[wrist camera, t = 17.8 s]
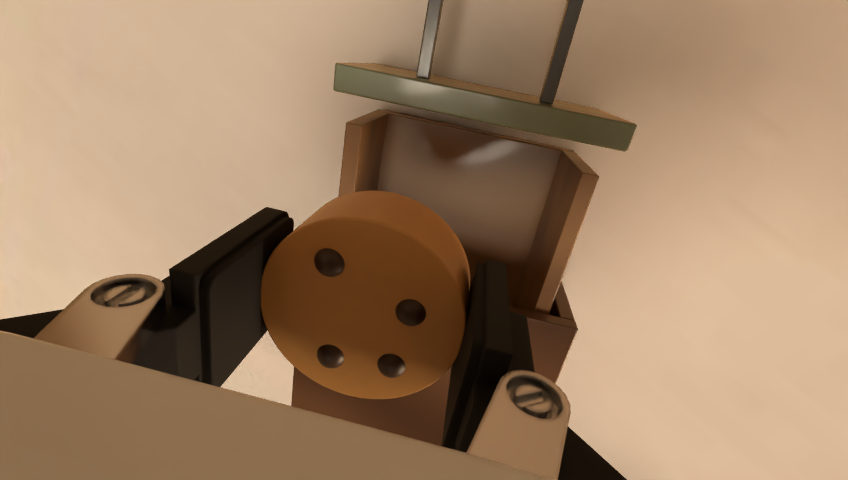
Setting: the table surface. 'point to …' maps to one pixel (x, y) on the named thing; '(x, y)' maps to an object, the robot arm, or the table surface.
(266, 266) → the cookie
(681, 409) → the table surface
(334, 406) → the cabinet
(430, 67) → the drawer
